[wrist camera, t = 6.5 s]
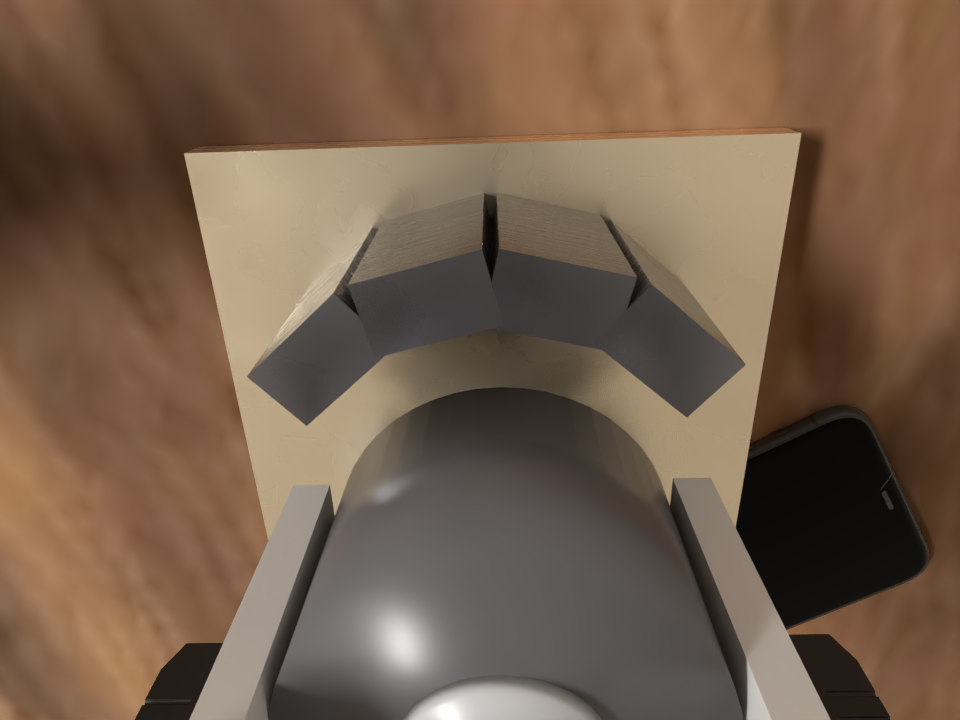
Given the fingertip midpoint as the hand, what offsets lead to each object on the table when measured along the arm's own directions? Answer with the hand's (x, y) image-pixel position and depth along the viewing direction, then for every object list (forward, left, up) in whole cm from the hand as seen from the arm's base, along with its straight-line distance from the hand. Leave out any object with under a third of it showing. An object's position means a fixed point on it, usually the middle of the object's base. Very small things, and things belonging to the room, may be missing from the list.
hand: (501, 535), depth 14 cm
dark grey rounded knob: (0, 0, 0) cm, 0 cm away
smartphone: (+7, +6, -6) cm, 11 cm away
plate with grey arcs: (0, 0, -6) cm, 6 cm away
